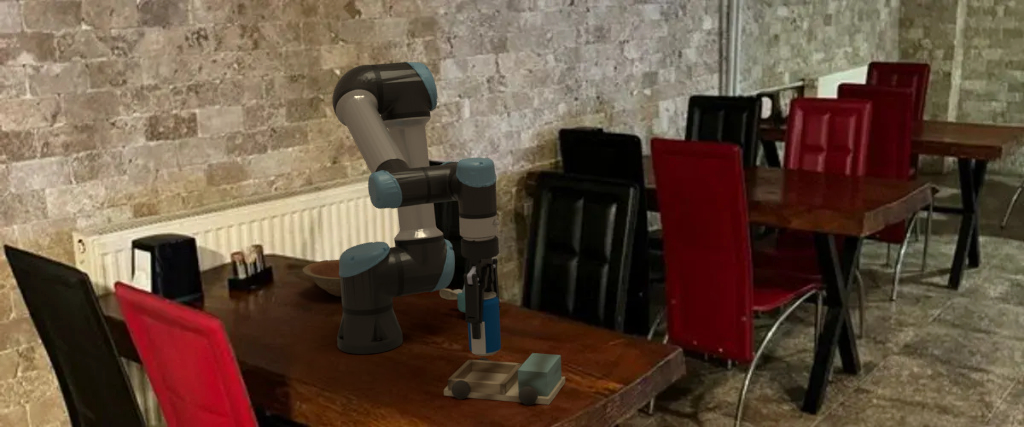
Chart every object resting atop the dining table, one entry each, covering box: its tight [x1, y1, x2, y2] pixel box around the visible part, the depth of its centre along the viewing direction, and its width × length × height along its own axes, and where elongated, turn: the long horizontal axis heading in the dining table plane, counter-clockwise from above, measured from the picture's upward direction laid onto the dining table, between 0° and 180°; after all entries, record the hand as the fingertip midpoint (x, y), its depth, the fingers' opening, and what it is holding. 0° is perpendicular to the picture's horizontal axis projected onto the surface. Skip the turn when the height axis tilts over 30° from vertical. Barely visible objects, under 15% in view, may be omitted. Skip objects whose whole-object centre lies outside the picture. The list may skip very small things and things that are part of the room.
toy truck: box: [443, 352, 566, 406], centre depth 202 cm, size 22×14×6 cm, turn 72°
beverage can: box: [467, 292, 502, 357], centre depth 201 cm, size 6×6×12 cm
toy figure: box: [439, 283, 502, 313], centre depth 251 cm, size 17×10×15 cm, turn 50°
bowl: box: [302, 259, 342, 298], centre depth 276 cm, size 24×24×8 cm
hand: (485, 347), depth 202 cm, fingers closed on beverage can, 6 cm apart
